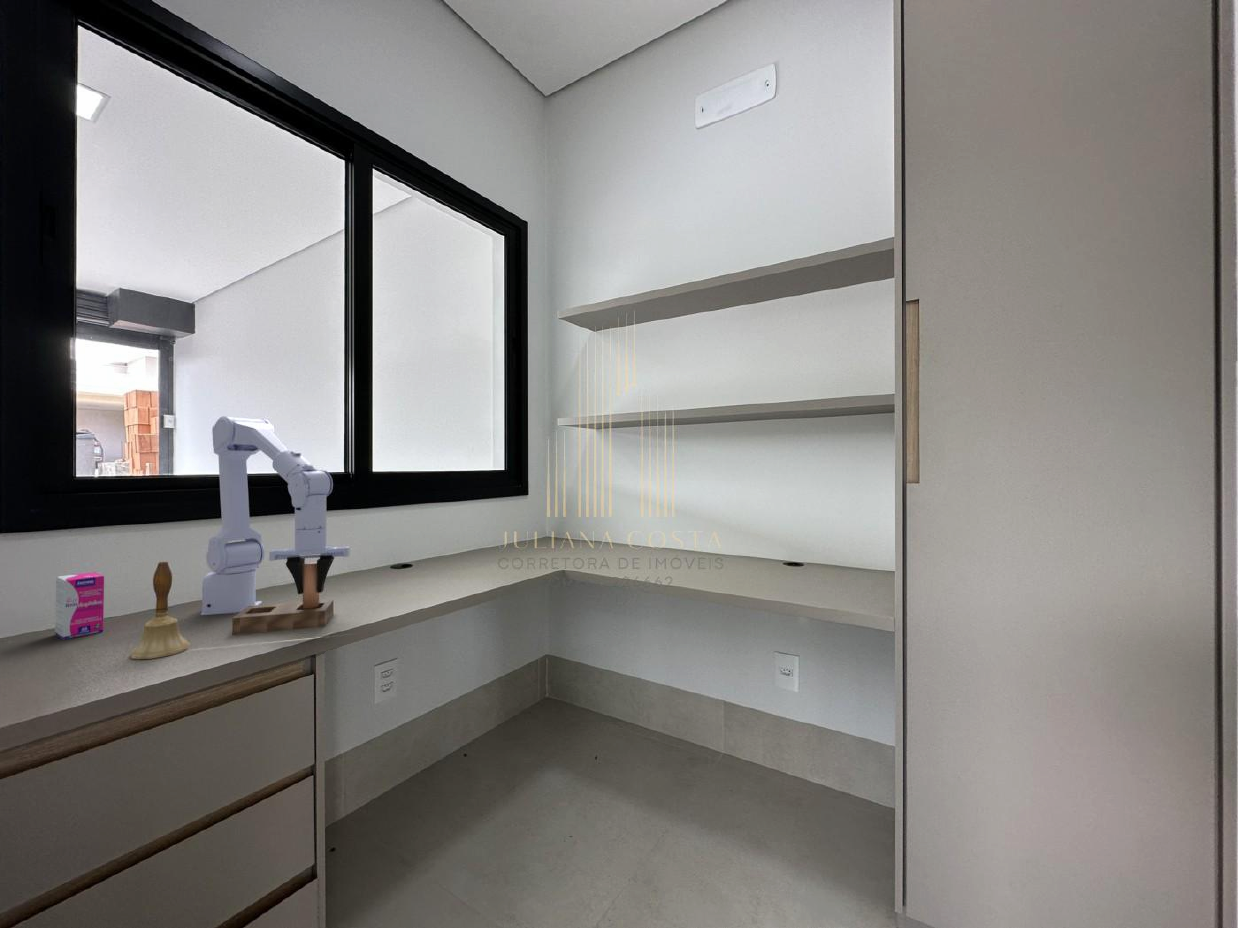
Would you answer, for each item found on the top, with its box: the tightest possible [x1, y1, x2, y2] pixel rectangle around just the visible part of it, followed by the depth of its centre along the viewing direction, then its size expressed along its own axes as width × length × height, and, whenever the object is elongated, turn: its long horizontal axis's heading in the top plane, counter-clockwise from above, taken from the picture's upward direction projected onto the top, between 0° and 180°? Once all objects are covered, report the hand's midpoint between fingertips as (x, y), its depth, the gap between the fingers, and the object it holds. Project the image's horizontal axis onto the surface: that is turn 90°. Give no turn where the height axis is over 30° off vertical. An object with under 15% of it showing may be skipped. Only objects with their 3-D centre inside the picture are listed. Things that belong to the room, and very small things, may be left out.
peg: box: [302, 561, 320, 608], centre depth 110 cm, size 3×3×9 cm
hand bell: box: [129, 561, 192, 660], centre depth 93 cm, size 8×8×16 cm
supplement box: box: [54, 571, 105, 641], centre depth 103 cm, size 6×6×12 cm
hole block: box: [231, 599, 334, 636], centre depth 108 cm, size 16×9×4 cm, turn 109°
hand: (310, 592), depth 110 cm, fingers closed on peg, 3 cm apart
